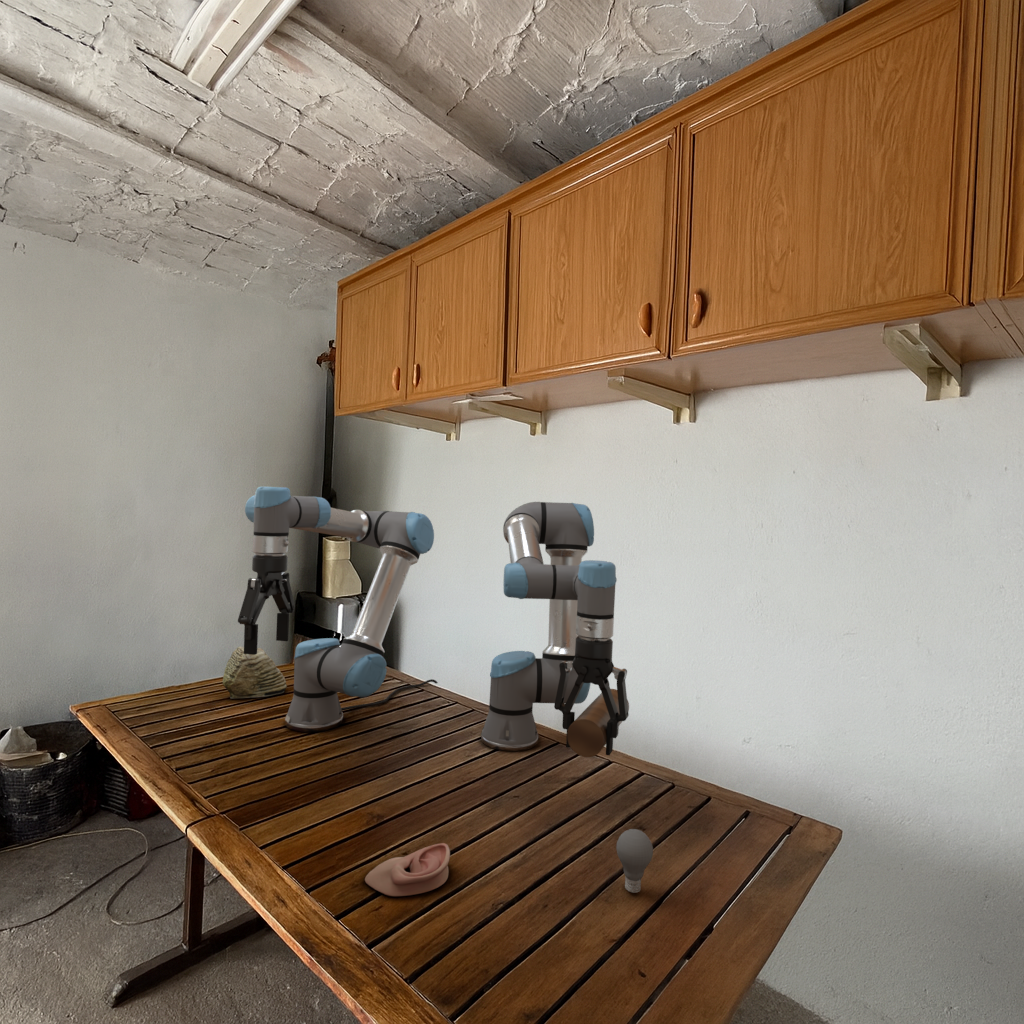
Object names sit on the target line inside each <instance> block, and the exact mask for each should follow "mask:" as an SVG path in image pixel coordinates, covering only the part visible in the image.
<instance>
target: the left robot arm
mask: <svg viewBox="0 0 1024 1024" xmlns="http://www.w3.org/2000/svg"><path fill="white" fill-rule="evenodd" d="M244 513H245V516H246V518H247V519H248V520H249V521H250V522H251V523H253V536H252V537H253V539H252V552H253V553H254V554H253V556H252V563H251V569H252V572H254V573H256V574H257V575H256V578H255V577H253V578H252V577H249V578H248V579H247V585H246V586H247V587H246V591H245V595H244V598H243V602H242V604H241V608H240V611H239V614H238V618H237V623H239V624H240V625H244V628H243V629H244V631H243V647H244V654H252V655H256V654H257V648H258V642H259V641H258V639H259V638H258V637H259V624H258V623H257V621H258V619H259V617H260V614H261V612H262V609H263V608H264V605H265V603H266V601H267V600H268V599H270V597H272V599H273V601H274V602H275V606H276V607H277V609H278V612H277V613H276V631H275V632H276V634H275V636H276V637H275V641H276V642H277V641H278V642H289V633H290V632H289V630H290V614H294V612H295V608H296V605H295V599H294V595H293V591H292V586H291V582H290V573H289V572H287V571H288V563H289V562H288V561H289V557H288V556H287V555H286V554H287V553H288V552H289V551H288V550H289V544H290V541H289V536H290V529H294V530H300V531H306V532H313V533H319V534H324V535H331V536H335V537H341V538H345V539H347V540H348V541H349V542H352V543H357V544H361V545H365V546H369V547H372V548H375V549H379V552H380V554H381V558H380V560H379V563H378V566H377V568H376V570H375V573H374V576H373V579H372V581H371V584H370V586H369V589H368V591H367V594H366V597H365V599H364V601H363V605H362V606H361V610H360V611H359V614H358V616H357V619H356V621H355V625H354V627H353V629H352V632H351V634H350V635H348V636H345V637H344V638H343V640H342V642H341V643H340V640H339V639H338V638H335V637H329V638H328V637H326V638H313V639H308V640H304V641H302V642H299V643H298V644H297V645H296V647H295V652H294V653H295V654H294V657H293V659H294V660H293V662H294V663H293V665H294V666H293V695H292V696H293V697H292V699H291V702H290V704H289V708H288V711H287V713H286V715H285V719H284V720H285V726H286V728H287V729H289V730H291V731H294V732H295V731H296V732H301V733H316V732H325V731H329V730H332V729H335V728H337V727H339V726H340V725H342V723H343V722H344V713H343V711H347V710H351V709H352V710H353V709H358V708H359V709H360V708H366V707H374V706H380V705H383V704H385V703H387V702H388V701H389V700H390V698H391V697H393V696H394V695H395V694H396V693H399V692H400V691H403V690H407V689H411V688H412V689H413V688H418V687H422V686H424V685H426V684H427V685H428V683H434V684H439V682H438V681H437V680H436V679H431V678H430V679H428V680H425V681H423V682H420V683H417V684H411V685H410V684H409V685H405V686H402V687H399V688H396V689H395V690H393V691H392V692H391V693H389V695H388V696H386V698H385V699H383V700H380V701H376V702H370V703H369V702H368V703H362V704H355V705H350V706H344V707H342V706H341V702H340V699H339V695H338V693H339V694H343V695H347V696H349V697H353V698H355V697H357V698H367V697H370V696H372V694H374V693H376V692H377V691H378V690H379V689H380V687H382V684H383V683H384V681H385V679H386V675H387V671H388V669H387V665H388V664H387V661H386V659H385V657H384V655H385V649H384V648H383V642H384V639H385V636H386V633H387V631H388V628H389V625H390V622H391V619H392V617H393V614H394V611H395V609H396V606H397V605H398V600H399V598H400V596H401V593H402V590H403V588H404V585H405V582H406V579H407V577H408V574H409V571H410V568H411V567H412V566H414V565H415V564H417V563H418V562H419V559H420V556H421V555H423V554H427V553H428V552H429V551H431V550H432V548H433V545H434V541H435V531H434V526H433V523H432V521H431V520H430V518H429V517H428V516H427V515H426V514H424V513H420V512H414V511H409V512H408V511H392V510H391V511H390V510H362V509H353V510H351V511H349V510H345V509H341V508H335V507H331V504H330V502H329V501H328V500H327V499H326V498H324V497H321V496H320V497H319V496H316V495H315V496H305V495H304V496H303V495H302V496H301V495H291V489H290V488H288V487H285V486H284V487H283V486H281V487H280V486H258V487H257V488H256V490H255V494H254V495H252V496H250V497H249V498H248V499H247V500H246V503H245V505H244Z"/></svg>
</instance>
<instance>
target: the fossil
mask: <svg viewBox="0 0 1024 1024" xmlns="http://www.w3.org/2000/svg"><path fill="white" fill-rule="evenodd" d="M222 676H223V677H222V685H223V687H224V688H225V690H226V691H228V693H229V698H230V699H250V698H264V697H271V696H275V695H281V694H284V693H285V691H286V689H287V687H288V686H287V680H286V678H285V676H284V674H283V673H282V672H281V669H279V668H278V667H277V665H276V663H275V662H274V660H273V659H272V658H271V657H270V656H269V655H268V654H267V653H266V652H265V650H264V649H263V648H260V647H257V654H256V655H252V654H244V646H238V647H237V648H236V649H235V650H233V651H232V653H231V656H230V657H229V659H228V660H227V663H226V666H225V668H224V671H223V675H222Z"/></svg>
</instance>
